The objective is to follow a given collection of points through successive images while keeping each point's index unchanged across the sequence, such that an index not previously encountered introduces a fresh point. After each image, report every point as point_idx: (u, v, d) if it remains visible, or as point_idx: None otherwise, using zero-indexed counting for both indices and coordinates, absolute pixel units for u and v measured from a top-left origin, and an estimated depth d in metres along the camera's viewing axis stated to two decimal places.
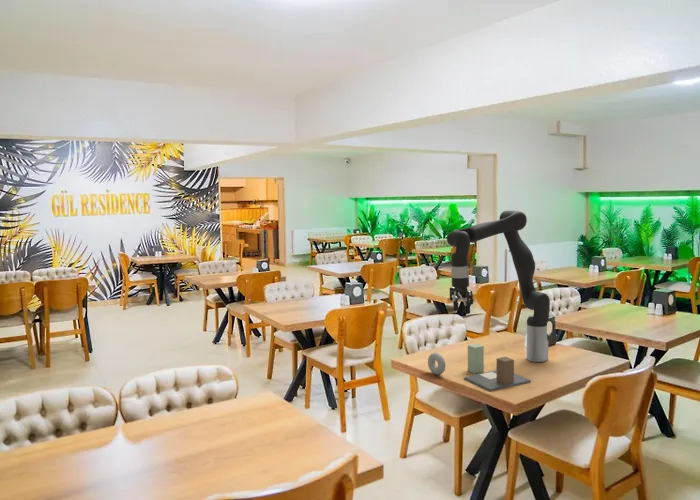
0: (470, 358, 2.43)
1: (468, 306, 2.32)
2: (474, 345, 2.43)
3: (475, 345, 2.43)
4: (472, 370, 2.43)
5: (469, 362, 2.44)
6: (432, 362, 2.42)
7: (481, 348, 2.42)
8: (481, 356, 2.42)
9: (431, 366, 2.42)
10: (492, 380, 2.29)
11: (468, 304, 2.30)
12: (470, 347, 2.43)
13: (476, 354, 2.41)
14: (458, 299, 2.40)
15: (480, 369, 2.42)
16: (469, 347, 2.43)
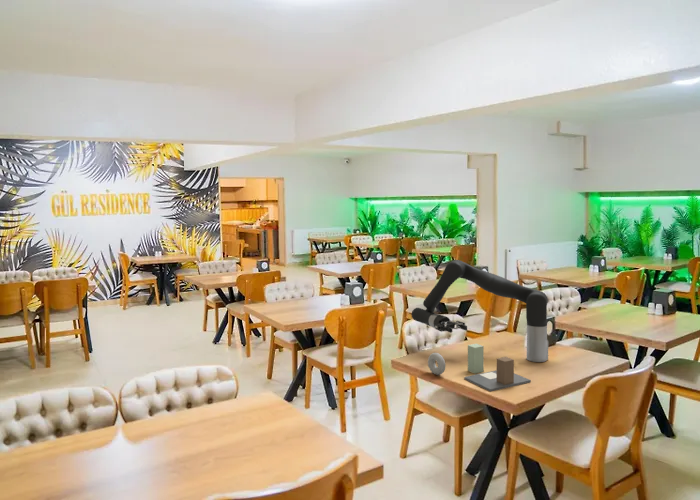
0: (470, 358, 2.43)
1: (445, 329, 2.54)
2: (474, 345, 2.43)
3: (475, 345, 2.43)
4: (472, 370, 2.43)
5: (469, 362, 2.44)
6: (432, 362, 2.42)
7: (481, 348, 2.42)
8: (481, 356, 2.42)
9: (431, 366, 2.42)
10: (492, 380, 2.29)
11: (441, 331, 2.55)
12: (470, 347, 2.43)
13: (476, 354, 2.41)
14: (458, 324, 2.59)
15: (480, 369, 2.42)
16: (469, 347, 2.43)
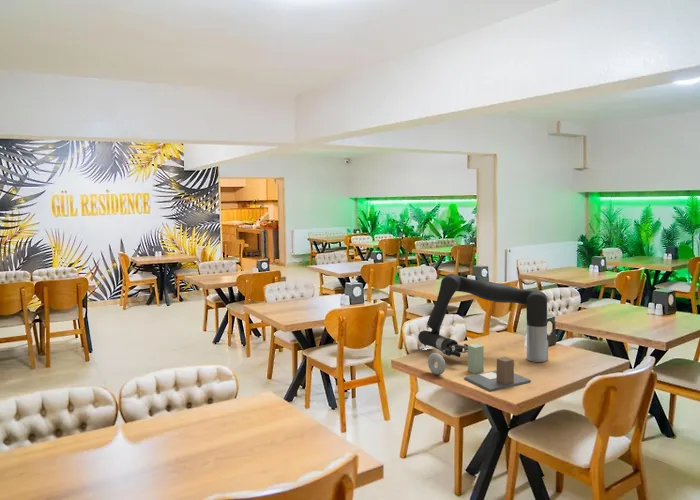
0: (470, 358, 2.43)
1: (453, 353, 2.50)
2: (474, 345, 2.43)
3: (475, 345, 2.43)
4: (472, 370, 2.43)
5: (469, 362, 2.44)
6: (432, 362, 2.42)
7: (481, 348, 2.42)
8: (481, 356, 2.42)
9: (431, 366, 2.42)
10: (492, 380, 2.29)
11: (449, 355, 2.51)
12: (470, 347, 2.43)
13: (476, 354, 2.41)
14: (466, 347, 2.55)
15: (480, 369, 2.42)
16: (469, 347, 2.43)
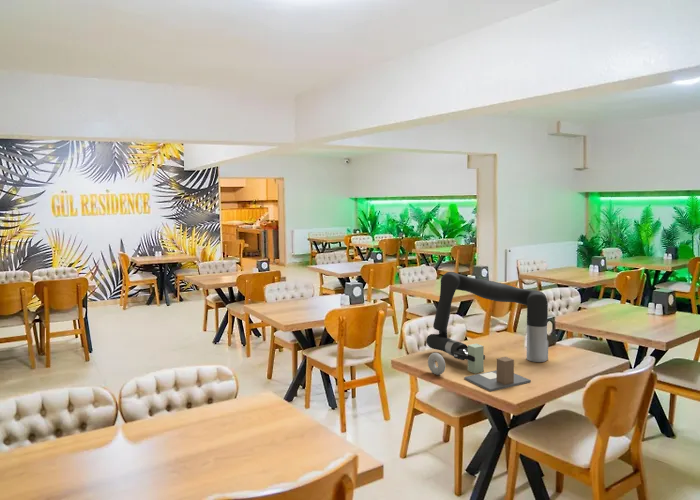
0: None
1: (467, 357, 2.43)
2: (474, 345, 2.43)
3: (475, 345, 2.43)
4: (472, 370, 2.43)
5: (469, 362, 2.44)
6: (432, 362, 2.42)
7: (481, 348, 2.42)
8: (481, 356, 2.42)
9: (431, 366, 2.42)
10: (492, 380, 2.29)
11: None
12: (470, 347, 2.43)
13: (476, 354, 2.41)
14: None
15: (480, 369, 2.42)
16: (469, 347, 2.43)
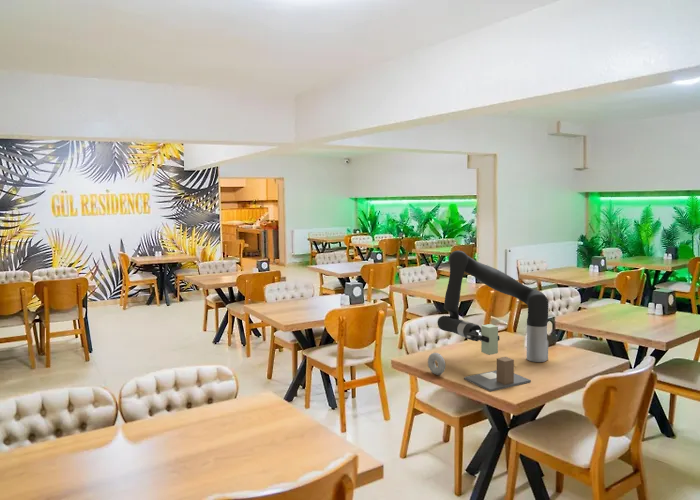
0: None
1: (481, 338, 2.33)
2: (488, 326, 2.33)
3: (489, 325, 2.34)
4: (486, 351, 2.33)
5: (483, 343, 2.34)
6: (432, 362, 2.42)
7: (495, 328, 2.32)
8: (495, 337, 2.32)
9: (431, 366, 2.42)
10: (492, 380, 2.29)
11: None
12: (484, 327, 2.33)
13: (490, 335, 2.31)
14: None
15: (494, 350, 2.33)
16: (483, 327, 2.34)
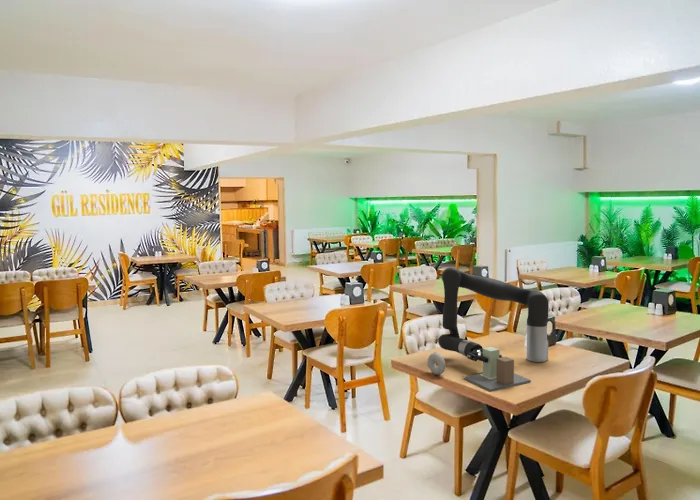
0: None
1: (480, 358, 2.33)
2: (490, 349, 2.33)
3: (490, 348, 2.34)
4: (487, 374, 2.33)
5: (484, 366, 2.34)
6: (432, 362, 2.42)
7: (497, 351, 2.32)
8: None
9: (431, 366, 2.42)
10: (492, 380, 2.29)
11: None
12: (485, 350, 2.33)
13: (492, 358, 2.31)
14: None
15: (496, 374, 2.33)
16: (484, 350, 2.34)
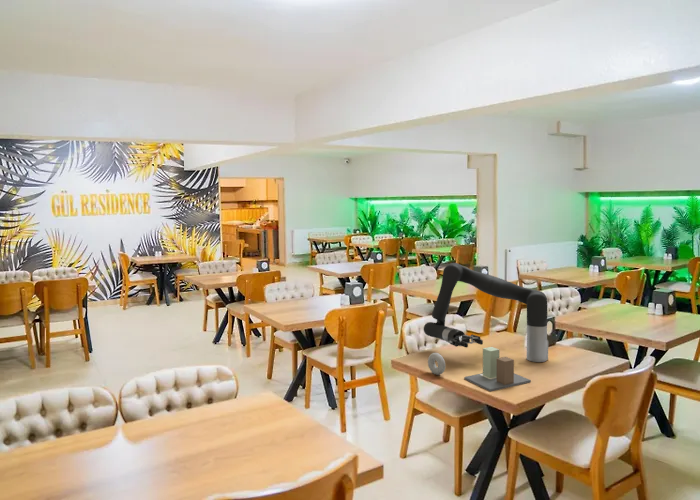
0: (486, 362, 2.33)
1: (460, 344, 2.46)
2: (490, 349, 2.33)
3: (490, 348, 2.34)
4: (487, 374, 2.33)
5: (484, 366, 2.34)
6: (432, 362, 2.42)
7: (497, 351, 2.32)
8: None
9: (431, 366, 2.42)
10: (492, 380, 2.29)
11: (456, 346, 2.47)
12: (485, 350, 2.33)
13: (492, 358, 2.31)
14: (473, 338, 2.51)
15: (496, 374, 2.33)
16: (484, 350, 2.34)
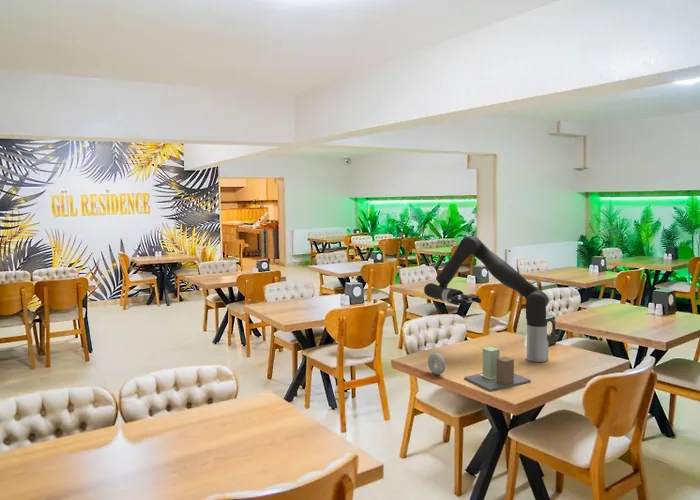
0: (486, 362, 2.33)
1: (459, 301, 2.53)
2: (490, 349, 2.33)
3: (490, 348, 2.34)
4: (487, 374, 2.33)
5: (484, 366, 2.34)
6: (432, 362, 2.42)
7: (497, 351, 2.32)
8: None
9: (431, 366, 2.42)
10: (492, 380, 2.29)
11: (455, 304, 2.54)
12: (485, 350, 2.33)
13: (492, 358, 2.31)
14: (472, 297, 2.58)
15: (496, 374, 2.33)
16: (484, 350, 2.34)
